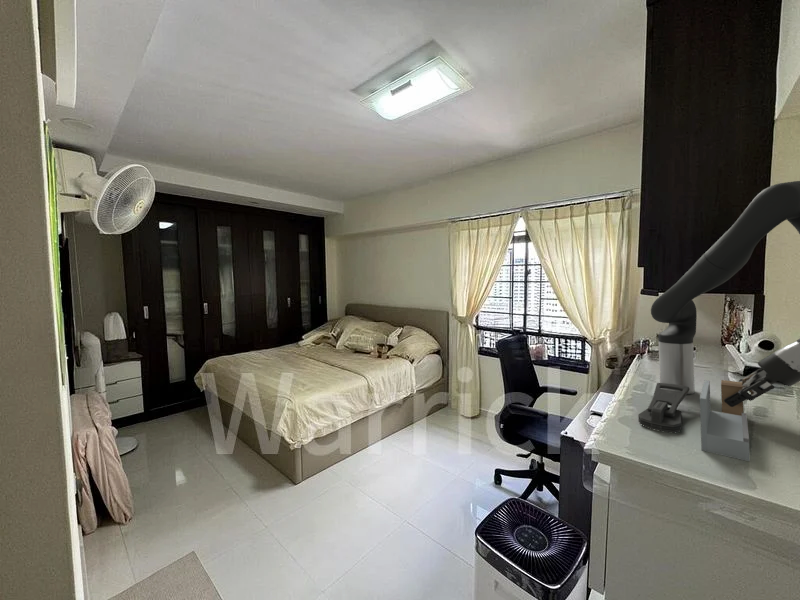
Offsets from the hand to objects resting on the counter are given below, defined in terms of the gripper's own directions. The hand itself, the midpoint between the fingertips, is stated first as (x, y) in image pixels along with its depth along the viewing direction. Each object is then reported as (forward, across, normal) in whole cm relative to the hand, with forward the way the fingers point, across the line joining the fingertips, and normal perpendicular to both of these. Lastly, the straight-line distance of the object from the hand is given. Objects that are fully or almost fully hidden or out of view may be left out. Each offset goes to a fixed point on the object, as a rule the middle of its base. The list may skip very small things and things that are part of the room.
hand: (727, 399), depth 87 cm
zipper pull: (+13, +8, -5) cm, 16 cm away
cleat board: (+4, +18, +4) cm, 18 cm away
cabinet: (+3, 0, +4) cm, 5 cm away
